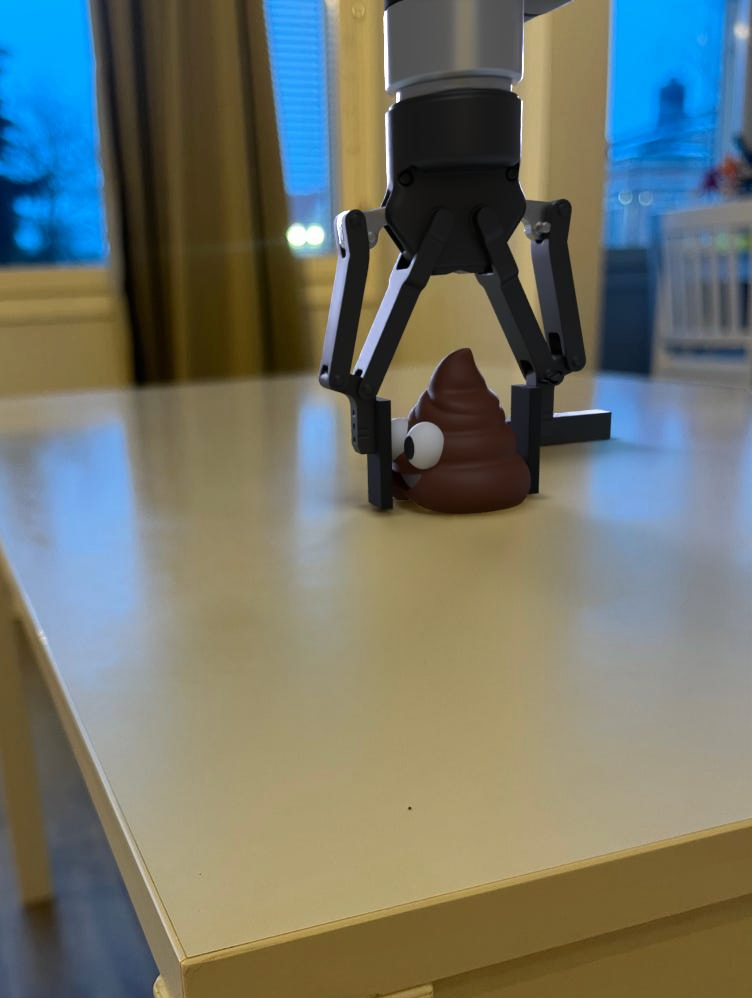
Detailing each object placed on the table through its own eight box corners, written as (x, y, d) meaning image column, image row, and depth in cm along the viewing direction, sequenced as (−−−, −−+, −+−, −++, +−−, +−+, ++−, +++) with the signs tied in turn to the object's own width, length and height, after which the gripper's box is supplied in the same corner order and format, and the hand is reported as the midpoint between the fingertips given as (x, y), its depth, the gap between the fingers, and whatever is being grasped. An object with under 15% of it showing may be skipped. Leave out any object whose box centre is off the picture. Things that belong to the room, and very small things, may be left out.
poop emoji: (560, 505, 60) (566, 343, 56) (437, 525, 57) (436, 356, 54) (468, 481, 68) (468, 340, 65) (358, 497, 65) (353, 351, 62)
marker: (596, 435, 84) (597, 406, 83) (611, 439, 82) (612, 409, 81) (451, 449, 82) (451, 420, 81) (462, 453, 79) (462, 423, 79)
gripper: (597, 103, 60) (581, 472, 68) (249, 115, 57) (273, 504, 64) (668, 77, 53) (641, 491, 61) (277, 88, 50) (300, 528, 57)
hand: (453, 497), depth 62 cm, fingers closed on poop emoji, 9 cm apart
